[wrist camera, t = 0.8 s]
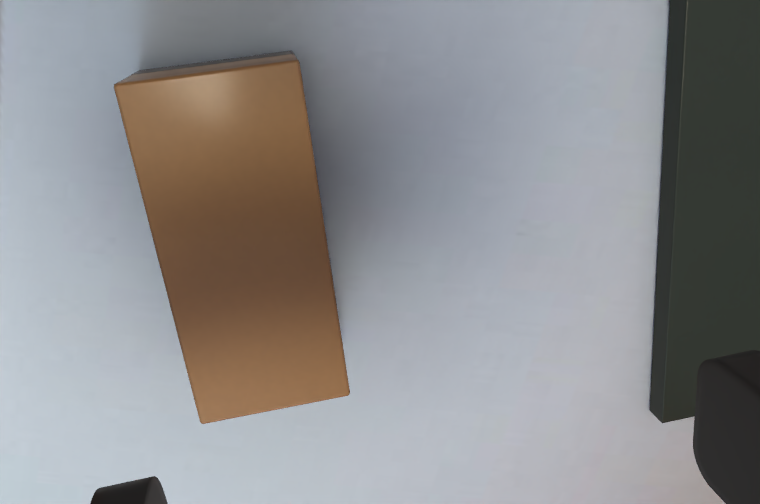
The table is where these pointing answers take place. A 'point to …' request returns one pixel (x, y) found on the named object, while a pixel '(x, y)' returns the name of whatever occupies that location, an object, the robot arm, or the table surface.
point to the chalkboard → (707, 198)
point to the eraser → (238, 230)
